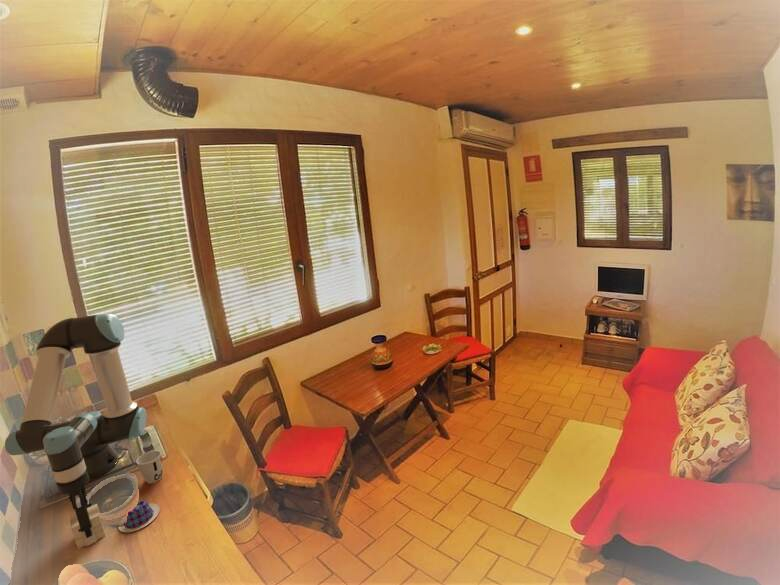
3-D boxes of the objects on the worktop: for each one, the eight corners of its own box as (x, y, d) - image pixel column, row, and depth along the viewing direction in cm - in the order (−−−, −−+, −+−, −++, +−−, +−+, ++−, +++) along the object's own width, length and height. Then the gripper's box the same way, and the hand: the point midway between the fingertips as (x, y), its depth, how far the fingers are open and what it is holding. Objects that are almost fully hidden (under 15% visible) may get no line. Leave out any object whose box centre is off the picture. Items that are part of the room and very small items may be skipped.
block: (76, 536, 123) (70, 515, 121) (103, 523, 127) (96, 503, 125) (78, 549, 118) (71, 528, 116) (105, 535, 122) (99, 515, 120)
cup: (158, 486, 143) (152, 463, 141) (137, 487, 143) (131, 464, 141) (170, 471, 151) (165, 449, 148) (150, 472, 151) (145, 450, 149)
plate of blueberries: (156, 499, 136) (153, 487, 135) (163, 519, 127) (159, 506, 126) (116, 518, 129) (113, 506, 128) (120, 541, 120) (116, 527, 119)
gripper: (55, 466, 122) (74, 523, 128) (56, 500, 107) (78, 563, 113) (84, 455, 127) (101, 510, 132) (89, 485, 112) (108, 547, 117)
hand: (90, 534), depth 122 cm, fingers open, 8 cm apart
